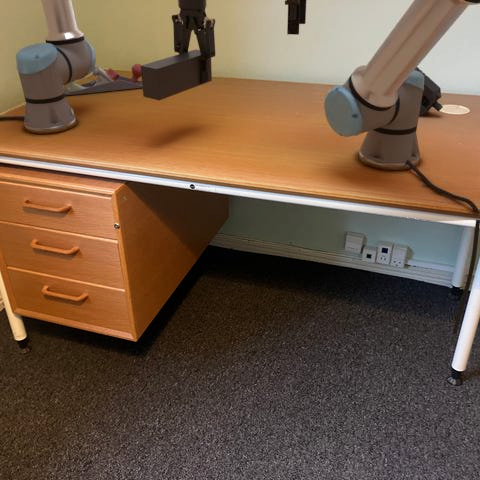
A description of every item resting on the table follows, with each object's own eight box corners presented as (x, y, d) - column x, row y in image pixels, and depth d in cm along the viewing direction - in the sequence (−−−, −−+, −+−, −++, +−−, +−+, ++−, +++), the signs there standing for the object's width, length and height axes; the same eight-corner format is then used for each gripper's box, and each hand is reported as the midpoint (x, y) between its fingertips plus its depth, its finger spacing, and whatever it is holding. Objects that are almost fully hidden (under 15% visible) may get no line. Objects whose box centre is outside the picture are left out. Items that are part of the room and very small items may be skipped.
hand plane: (62, 90, 197) (53, 48, 189) (145, 82, 205) (140, 41, 197) (62, 96, 191) (54, 53, 184) (148, 87, 199) (143, 45, 191)
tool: (380, 92, 178) (407, 55, 167) (423, 130, 174) (453, 95, 163) (371, 97, 174) (398, 59, 163) (415, 136, 170) (446, 100, 159)
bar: (159, 100, 139) (156, 69, 134) (143, 96, 141) (140, 65, 137) (211, 80, 154) (211, 52, 150) (196, 77, 157) (195, 49, 153)
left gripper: (228, -7, 138) (229, 82, 151) (174, -13, 147) (179, 72, 160) (210, -3, 133) (213, 89, 145) (156, -10, 142) (162, 77, 155)
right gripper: (291, -72, 132) (288, 19, 143) (275, -68, 111) (273, 38, 123) (321, -73, 131) (316, 20, 142) (311, -69, 110) (306, 39, 121)
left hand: (195, 80), depth 153 cm, fingers closed on bar, 6 cm apart
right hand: (296, 28), depth 132 cm, fingers open, 13 cm apart
